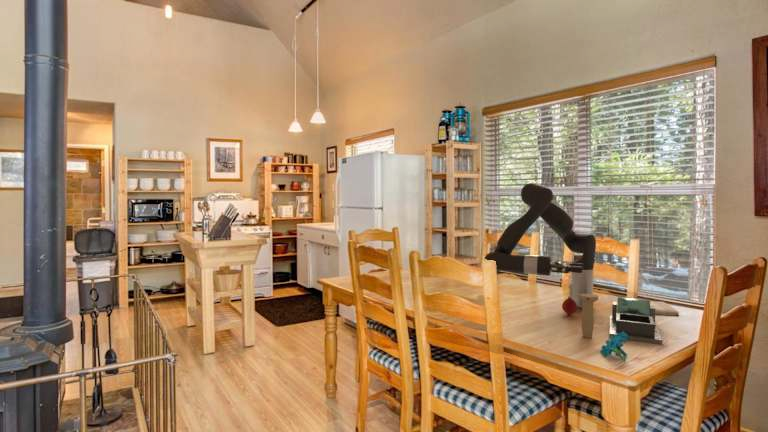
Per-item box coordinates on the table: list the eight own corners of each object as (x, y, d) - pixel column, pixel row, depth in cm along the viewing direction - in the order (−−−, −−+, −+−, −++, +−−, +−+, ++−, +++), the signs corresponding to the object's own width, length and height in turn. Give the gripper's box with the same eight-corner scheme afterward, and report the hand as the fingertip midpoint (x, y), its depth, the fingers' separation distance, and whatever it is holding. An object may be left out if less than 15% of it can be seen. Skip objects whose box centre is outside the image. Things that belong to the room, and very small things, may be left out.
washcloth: (663, 306, 207) (663, 300, 207) (680, 317, 189) (680, 310, 189) (635, 305, 209) (635, 298, 209) (648, 315, 192) (649, 308, 192)
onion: (576, 314, 192) (576, 295, 192) (577, 317, 187) (577, 298, 187) (561, 312, 194) (562, 294, 194) (562, 316, 189) (562, 297, 188)
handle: (596, 340, 158) (597, 297, 158) (577, 337, 161) (577, 295, 161) (597, 336, 163) (598, 295, 162) (578, 333, 166) (579, 293, 165)
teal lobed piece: (598, 343, 150) (623, 325, 146) (612, 356, 149) (637, 339, 145) (599, 358, 140) (625, 340, 136) (613, 373, 140) (641, 355, 135)
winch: (609, 337, 161) (610, 309, 161) (610, 318, 186) (610, 294, 186) (661, 344, 154) (662, 315, 153) (655, 323, 179) (656, 298, 178)
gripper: (534, 257, 168) (582, 260, 161) (540, 253, 181) (584, 255, 174) (534, 277, 169) (581, 281, 162) (539, 271, 182) (583, 275, 174)
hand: (583, 268), depth 168 cm, fingers open, 8 cm apart
